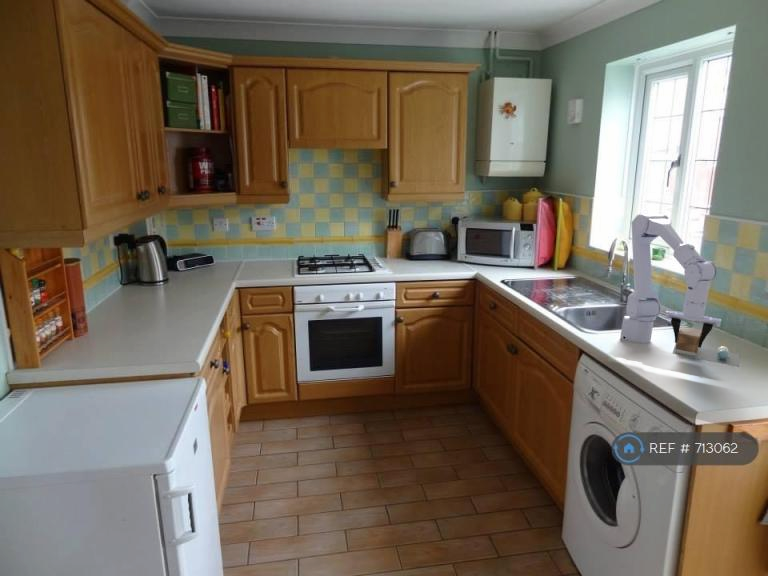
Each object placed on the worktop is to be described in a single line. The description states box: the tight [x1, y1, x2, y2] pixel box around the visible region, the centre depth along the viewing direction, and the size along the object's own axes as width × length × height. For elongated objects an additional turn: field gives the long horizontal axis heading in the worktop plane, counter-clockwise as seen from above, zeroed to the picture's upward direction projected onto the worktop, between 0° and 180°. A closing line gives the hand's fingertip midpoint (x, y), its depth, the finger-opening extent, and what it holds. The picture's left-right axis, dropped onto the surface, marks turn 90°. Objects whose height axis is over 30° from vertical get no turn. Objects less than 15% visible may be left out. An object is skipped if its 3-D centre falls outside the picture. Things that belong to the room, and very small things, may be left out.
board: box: [672, 343, 740, 367], centre depth 171 cm, size 18×12×1 cm, turn 57°
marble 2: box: [717, 349, 728, 359], centre depth 167 cm, size 3×3×3 cm
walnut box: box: [675, 326, 702, 353], centre depth 163 cm, size 6×9×5 cm, turn 146°
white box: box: [675, 349, 696, 356], centre depth 173 cm, size 6×9×5 cm, turn 147°
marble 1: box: [717, 345, 730, 353], centre depth 170 cm, size 3×3×3 cm
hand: (687, 344), depth 163 cm, fingers closed on walnut box, 6 cm apart
